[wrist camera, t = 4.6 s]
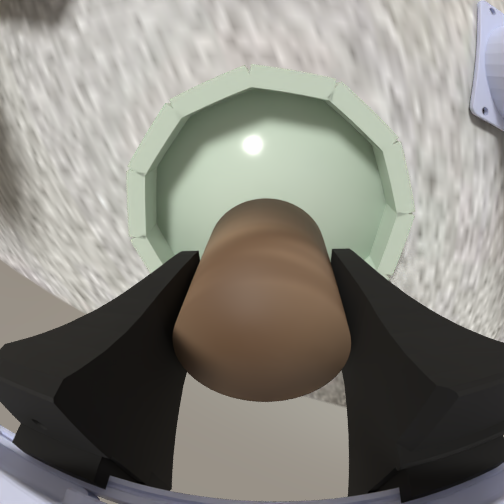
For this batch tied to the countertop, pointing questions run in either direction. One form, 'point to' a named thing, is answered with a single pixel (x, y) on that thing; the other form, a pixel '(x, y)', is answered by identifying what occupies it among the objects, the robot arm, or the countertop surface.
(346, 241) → the round tray
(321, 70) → the countertop surface
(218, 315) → the walnut bead
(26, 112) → the countertop surface
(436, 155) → the countertop surface
